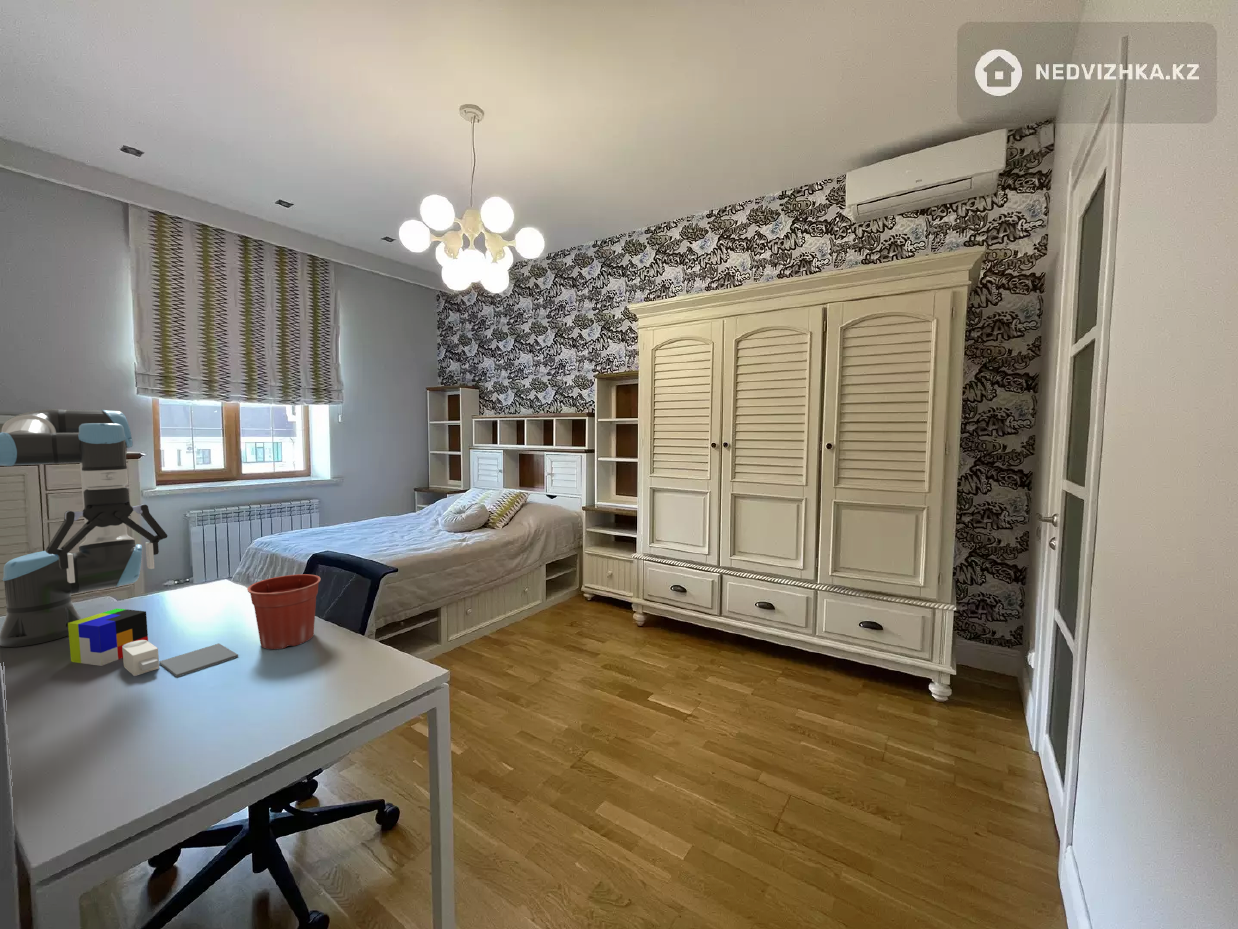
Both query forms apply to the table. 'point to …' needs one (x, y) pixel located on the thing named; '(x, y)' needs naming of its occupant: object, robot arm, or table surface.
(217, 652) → the coaster
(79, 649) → the puzzle toy
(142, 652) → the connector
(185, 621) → the table surface
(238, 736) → the table surface
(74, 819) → the table surface
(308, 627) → the flower pot
